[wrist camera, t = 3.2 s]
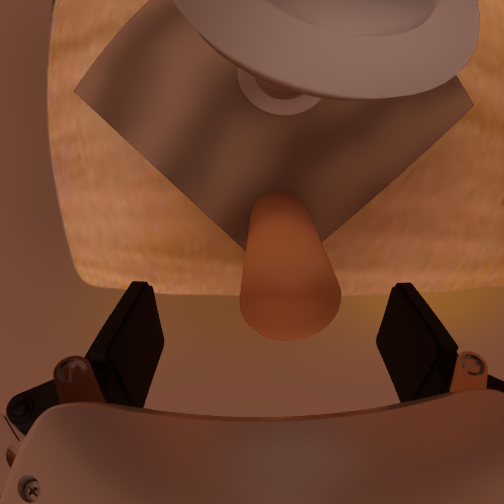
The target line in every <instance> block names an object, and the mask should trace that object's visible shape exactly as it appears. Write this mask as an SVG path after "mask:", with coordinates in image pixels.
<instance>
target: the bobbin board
mask: <svg viewBox="0 0 504 504" xmlns="http://www.w3.org/2000/svg"><path fill="white" fill-rule="evenodd" d="M479 28H480V15H479V8H478V2H477V0H149V1H148V2H147V3H146V4H145V5H144V6H143V7H142V8H141V9H140V10H139V11H138V12H137V13H136V14H135V15H134V16H133V17H132V18H131V19H130V20H129V21H128V22H127V23H126V24H125V25H124V26H123V27H122V29H121V30H120V31H119V32H118V33H117V34H116V35H115V37H114V38H113V39H112V40H111V41H110V43H109V44H108V45H107V46H106V47H105V49H104V50H103V51H102V52H101V54H100V55H99V56H98V57H97V59H96V60H95V61H94V63H93V64H92V65H91V67H90V68H89V69H88V71H87V72H86V74H85V75H84V77H83V78H82V79H81V81H80V82H79V84H78V85H77V87H76V88H75V90H74V92H75V93H76V94H77V95H78V96H79V97H80V98H81V99H82V100H84V101H85V102H86V103H87V104H88V105H89V106H90V107H91V108H92V109H93V110H94V111H95V112H96V113H97V114H99V115H100V116H101V117H102V118H103V119H104V120H105V121H106V122H107V123H108V124H109V125H110V126H111V127H112V128H114V129H115V130H116V131H117V132H118V133H119V134H120V135H121V136H122V137H123V138H124V139H125V140H126V141H128V142H129V143H130V144H131V145H132V146H133V147H134V148H135V149H136V150H137V151H138V152H139V153H140V154H142V155H143V156H144V157H145V158H146V159H147V160H148V161H149V162H150V163H151V164H152V165H153V166H154V167H156V168H157V169H158V170H159V171H160V172H161V173H162V174H163V175H164V176H165V177H166V178H167V179H168V180H170V181H171V182H172V183H173V184H174V185H175V186H176V187H177V188H178V189H179V190H180V191H181V192H182V193H184V194H185V195H186V196H187V197H188V198H189V199H190V200H191V201H192V202H193V203H194V204H195V205H197V206H198V207H199V208H200V209H201V210H202V211H203V212H204V213H205V214H206V215H207V216H208V217H210V218H211V219H212V220H213V221H214V222H215V223H216V224H217V225H218V226H219V227H220V228H221V229H223V230H224V231H225V232H226V233H227V234H228V235H229V236H230V237H231V238H232V239H233V240H234V241H236V242H237V243H238V244H239V245H240V246H241V247H242V248H243V249H244V250H245V251H246V247H247V239H248V232H249V224H250V217H251V211H252V208H253V206H254V204H255V203H256V201H257V200H258V199H259V198H260V197H261V196H263V195H264V194H266V193H268V192H271V191H276V190H283V191H288V192H291V193H293V194H295V195H296V196H298V197H299V198H300V199H301V200H302V202H303V203H304V205H305V207H306V209H307V211H308V213H309V215H310V218H311V220H312V222H313V224H314V227H315V229H316V231H317V233H318V236H319V238H320V240H321V242H322V241H324V240H325V239H326V238H327V237H328V236H330V235H331V234H332V233H333V232H334V231H336V230H337V229H338V228H339V227H340V226H341V225H343V224H344V223H345V222H346V221H347V220H349V219H350V218H351V217H352V216H353V215H354V214H356V213H357V212H358V211H359V210H360V209H361V208H363V207H364V206H365V205H366V204H367V203H368V202H369V201H371V200H372V199H373V198H374V197H375V196H376V195H378V194H379V193H380V192H381V191H382V190H383V189H384V188H385V187H387V186H388V185H389V184H390V183H391V182H392V181H393V180H395V179H396V178H397V177H398V176H399V175H400V174H401V173H402V172H403V171H405V170H406V169H407V168H408V167H409V166H410V165H411V164H412V163H413V162H414V161H416V160H417V159H418V158H419V157H420V156H421V155H422V154H423V153H424V152H425V151H426V150H428V149H429V148H430V147H431V146H432V145H433V144H434V143H435V142H436V141H437V140H438V139H439V138H440V137H442V136H443V135H444V134H445V133H446V132H447V131H448V130H449V129H450V128H451V127H452V126H453V125H454V124H455V123H456V122H457V121H458V120H459V119H460V118H461V117H462V116H463V115H465V114H466V113H467V112H468V111H469V110H470V109H471V108H472V107H473V106H474V105H473V103H472V101H471V99H470V98H469V96H468V94H467V92H466V91H465V89H464V87H463V86H462V84H461V82H460V81H459V79H458V77H457V76H456V75H457V74H458V73H459V72H460V70H461V69H462V68H463V67H464V66H465V65H466V64H467V62H468V61H469V59H470V57H471V56H472V54H473V52H474V49H475V46H476V44H477V41H478V35H479Z"/></svg>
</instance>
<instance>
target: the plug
mask: <svg viewBox="0 0 504 504" xmlns="http://www.w3.org/2000/svg"><path fill="white" fill-rule="evenodd" d="M340 303H341V290H340V286H339V284H338V281H337V278H336V276H335V274H334V271H333V269H332V266H331V264H330V261H329V259H328V257H327V254H326V252H325V250H324V247H323V245H322V243H321V240H320V238H319V236H318V233H317V231H316V229H315V227H314V224H313V222H312V220H311V218H310V215H309V213H308V211H307V209H306V207H305V205H304V203H303V202H302V200H301V199H300V198H299V197H298V196H296V195H295V194H293V193H291V192H288V191H283V190H276V191H271V192H268V193H266V194H264V195H263V196H261V197H260V198H259V199H258V200H257V201H256V203H255V204H254V206H253V208H252V211H251V217H250V224H249V232H248V239H247V247H246V254H245V262H244V269H243V277H242V284H241V292H240V309H241V313H242V315H243V317H244V319H245V321H246V322H247V323H248V325H249V326H250V327H251V328H253V329H254V330H255V331H256V332H258V333H259V334H262V335H263V336H266V337H268V338H272V339H277V340H285V341H288V340H299V339H303V338H307V337H309V336H312V335H314V334H316V333H318V332H319V331H321V330H322V329H324V328H325V327H326V326H327V325H328V324H329V323H330V322H331V321H332V320H333V318H334V317H335V315H336V314H337V312H338V309H339V307H340Z"/></svg>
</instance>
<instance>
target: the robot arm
mask: <svg viewBox="0 0 504 504" xmlns="http://www.w3.org/2000/svg"><path fill="white" fill-rule="evenodd" d="M376 344H377V347H378V349H379V352H380V354H381V356H382V358H383V361H384V363H385V365H386V368H387V370H388V373H389V375H390V377H391V380H392V382H393V384H394V387H395V389H396V392H397V394H398V397H399V400H400V402H401V403H399V404H393V405H388V406H382V407H377V408H370V409H364V410H356V411H349V412H340V413H330V414H319V415H306V416H289V417H288V416H286V417H232V416H211V415H198V414H186V413H178V412H169V411H159V410H152V409H145V408H143V407H144V404H145V400H146V398H147V394H148V391H149V388H150V385H151V382H152V379H153V376H154V373H155V370H156V367H157V364H158V362H159V359H160V356H161V353H162V350H163V347H164V336H163V332H162V328H161V324H160V319H159V314H158V310H157V306H156V300H155V296H154V290H153V287H152V286H149V284H148V283H147V282H140V281H133V282H132V283H131V284H130V286H129V287H128V289H127V290H126V292H125V293H124V295H123V296H122V298H121V299H120V301H119V303H118V304H117V306H116V307H115V309H114V310H113V312H112V314H111V315H110V316H109V318H108V319H107V321H106V322H105V324H104V326H103V327H102V329H101V330H100V332H99V334H98V335H97V337H96V339H95V341H94V342H93V344H92V345H91V347H90V349H89V351H88V352H87V354H86V356H85V357H81V356H70V357H67V358H65V359H63V360H61V361H60V362H59V363H58V364H57V365H56V367H55V369H54V372H53V378H54V379H53V380H51V381H49V382H46V383H44V384H42V385H39V386H37V387H34V388H32V389H29V390H27V391H25V392H22V393H20V394H18V395H16V396H14V397H13V398H12V399H11V400H10V401H9V403H8V405H7V409H6V411H7V414H6V415H5V416H4V415H3V414H2V413H1V414H0V504H504V381H502V380H499V379H497V378H495V377H493V376H491V375H488V366H487V363H486V361H485V360H484V359H483V358H482V357H481V356H480V355H478V354H477V353H474V352H471V351H465V352H462V353H460V354H459V355H458V354H457V352H456V351H457V349H458V346H457V344H456V343H455V341H454V340H453V338H452V337H451V336H450V334H449V333H448V331H447V330H446V328H445V327H444V326H443V324H442V323H441V321H440V320H439V319H438V317H437V316H436V315H435V313H434V312H433V311H432V309H431V308H430V307H429V305H428V304H427V303H426V301H425V300H424V299H423V298H422V296H421V295H420V294H419V292H418V291H417V290H416V289H415V287H414V286H413V285H412V284H411V283H397V284H396V285H395V287H393V288H392V290H391V293H390V297H389V300H388V304H387V307H386V310H385V314H384V317H383V320H382V323H381V326H380V329H379V332H378V335H377V338H376Z"/></svg>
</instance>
